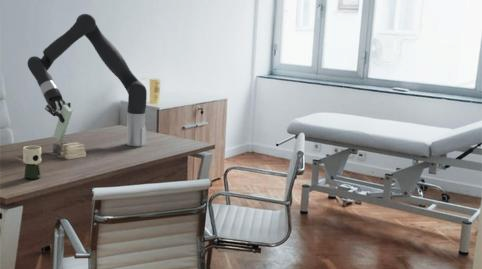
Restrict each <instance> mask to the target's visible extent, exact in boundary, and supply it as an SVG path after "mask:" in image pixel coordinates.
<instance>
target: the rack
mask: <svg viewBox="0 0 482 269" xmlns="http://www.w3.org/2000/svg"><path fill="white" fill-rule="evenodd" d="M45 153H47V154H49V155H53V156H54V157H58V158H61V159H64V160H66V161H67V160H74V159H80V158H86V157H88V155H87V152H86V147H85V144H83V143H80V142H78V141H77V142H76V141H75V142H69V143H67V142H64V141H60V144H59V143H52V150H49V151H45Z"/></svg>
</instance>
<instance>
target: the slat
mask: <svg viewBox="0 0 482 269" xmlns="http://www.w3.org/2000/svg"><path fill="white" fill-rule="evenodd" d="M72 113H73V110H72V108H71V107H70V108H69V107H68V105H63V107H62V110H61V114H62V116H63V118H64V120H65V121H64V123H62V122H61V121H60V120H59V119H58V120H57V123H56V127H55V129H54V132H53V136H54V137H55V138H56V140H57V141H58V142H64V137H65V134H66V132H67V130H68V125H69V123H70V120H71V116H72Z"/></svg>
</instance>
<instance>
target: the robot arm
mask: <svg viewBox="0 0 482 269" xmlns="http://www.w3.org/2000/svg"><path fill="white" fill-rule="evenodd" d="M84 36H85V37H86V38H87V39H88V40H89V42H90V44H91V45H92V47H93V48H94V50H95V51H96V53H97V55H98V56H99V58H100V59H101V61H102V62H103V63H104V65H105V66H106V67H107V68H108V69H109V70H110V72H111V73H112V74H113V75H114V76H115V77H116V78H117V79H118V80H119V82H120V83H121V84H122V85H123V87H124V88H125V91H126V92H127V94H128V96H127V97H128V100H127V103H128V104H127V109H126V111H127V112H126V113H127V114H126V116H127V118H126V145H127V146H128V147H129V146H130V147H143V146H145V145H146V144H147V143H146V142H147V141H146V139H147V138H146V137H147V126H146V109H147V95H148V94H147V92H148V91H147V87H146V86H145V85H144V84H143V83H142V82H141V81H140V80H139V79H138V78H137V77H136V76H135V75H134V73H133V72H132V70H130V67H129V66H128V63H127V62H126V60H125V58H124V57H123V55H122V54H121V53H120V52H119V50H118V49H117V47H115V45H114V44H113V43H112V42H111V41H110V40H109V39H108V38H107V37H106V36H105V35H104V34H103V33H102V31H101V29H100V28H99V25H97V22H96V19H95V18H94V16H93V15H91V14H89V13H82V14H79V15H78V16H77V18H76V21H75V22H74V24H73V25H72V26H71V27H70V28H69V29H68V30H67V31H66V32H65V33H63V34H62V35H60V36H59V37H57V38H56V39H55V40H54V41H53V42H51V43H50V44H49V45H48V46H46V47H45V48H44V49H43V50H42V53H43V56H42V58H41V57H39V56H35V55H34V56H31V57H29V58H28V59H27V68H28V69H29V71H30V72H31V74H32V76H33V77H34V78H35V80H36V82H37V85H38V87H39V88H40V89H39V90H40V91H41V93H42V96H43V97H44V99H45V102H46V103H47V104H46V105H45V107H44V110H46V111H47V112H48V114H50V115H51V116H53V117H57V118H58V120H60V121H61V122H62V123H64V121H65V120H64V118H63V116H62V114H61V110H62V107H63V105H68V107H69V108H70V109H71V102H66V101H65V100H64V99H63V96H62V93H61V91H60V89H59V88H58V86H57V85H56V83H55V81H54V79H53V77H52V75H51V74H50V73H49V72H48V70H50V68H51V66H53V64H54V62H55V61H56V60H57V59H58V58H60V57H61V56H62V55H63V54H64V53H65V52H66V51H67V50H68V49H69V48H70V47H71V46H72V45H74V44H75V43H76V42H77V41H79V39H81V38H82V37H84Z"/></svg>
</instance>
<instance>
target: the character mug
mask: <svg viewBox="0 0 482 269" xmlns="http://www.w3.org/2000/svg"><path fill="white" fill-rule="evenodd" d="M22 162H23V163H24V164H25V168H24V178H28V179H30V180H31V179H32V180H35V179H39V178H41V169H40V165H39V164H40V163H42V147H41V145H27V146H23V148H22Z"/></svg>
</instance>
